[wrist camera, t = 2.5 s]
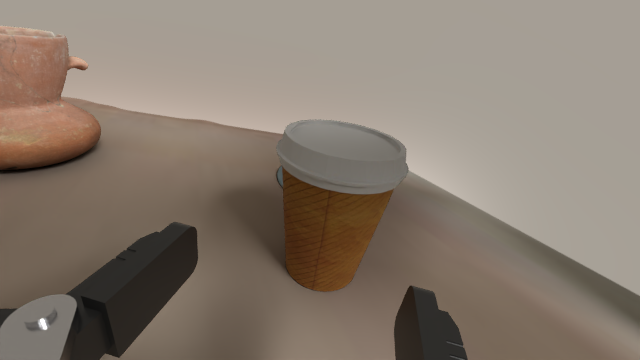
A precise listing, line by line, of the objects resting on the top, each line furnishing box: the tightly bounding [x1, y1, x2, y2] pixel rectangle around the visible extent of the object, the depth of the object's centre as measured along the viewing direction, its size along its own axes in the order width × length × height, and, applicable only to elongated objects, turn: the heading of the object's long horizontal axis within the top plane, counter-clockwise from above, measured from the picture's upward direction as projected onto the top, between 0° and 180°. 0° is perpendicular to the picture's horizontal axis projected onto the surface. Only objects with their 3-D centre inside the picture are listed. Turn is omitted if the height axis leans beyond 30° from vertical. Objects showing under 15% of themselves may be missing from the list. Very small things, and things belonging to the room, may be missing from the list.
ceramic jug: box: [0, 26, 101, 170], centre depth 30 cm, size 18×14×14 cm
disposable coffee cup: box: [276, 120, 408, 292], centre depth 22 cm, size 10×10×12 cm
